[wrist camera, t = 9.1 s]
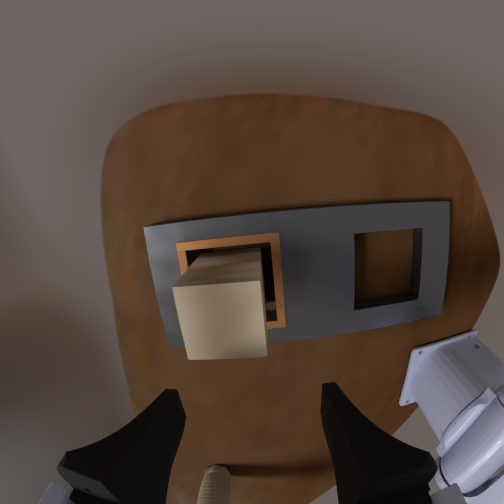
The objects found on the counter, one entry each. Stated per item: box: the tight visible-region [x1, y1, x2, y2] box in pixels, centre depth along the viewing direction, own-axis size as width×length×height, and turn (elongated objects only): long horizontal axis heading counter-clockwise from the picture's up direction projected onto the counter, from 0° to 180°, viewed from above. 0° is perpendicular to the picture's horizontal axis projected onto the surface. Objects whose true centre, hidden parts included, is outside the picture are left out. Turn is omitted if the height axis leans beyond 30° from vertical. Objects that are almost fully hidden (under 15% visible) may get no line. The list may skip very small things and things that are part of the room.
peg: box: [172, 247, 267, 360], centre depth 18 cm, size 4×4×8 cm
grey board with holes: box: [144, 200, 450, 347], centre depth 20 cm, size 24×10×2 cm, turn 96°
